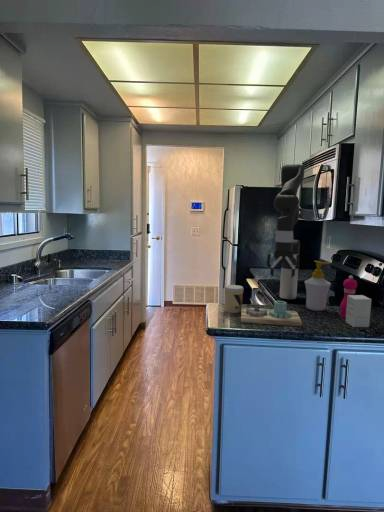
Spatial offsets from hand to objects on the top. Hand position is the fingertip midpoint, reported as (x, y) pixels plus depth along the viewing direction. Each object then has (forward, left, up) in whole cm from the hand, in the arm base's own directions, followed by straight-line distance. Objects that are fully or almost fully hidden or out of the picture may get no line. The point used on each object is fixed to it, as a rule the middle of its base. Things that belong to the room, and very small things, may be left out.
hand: (282, 276), depth 157 cm
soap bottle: (-21, +20, -20) cm, 35 cm away
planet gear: (0, 0, -18) cm, 18 cm away
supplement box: (0, +33, -20) cm, 39 cm away
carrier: (0, -5, -20) cm, 20 cm away
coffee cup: (-9, -22, -20) cm, 31 cm away
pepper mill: (-11, +32, -20) cm, 40 cm away
